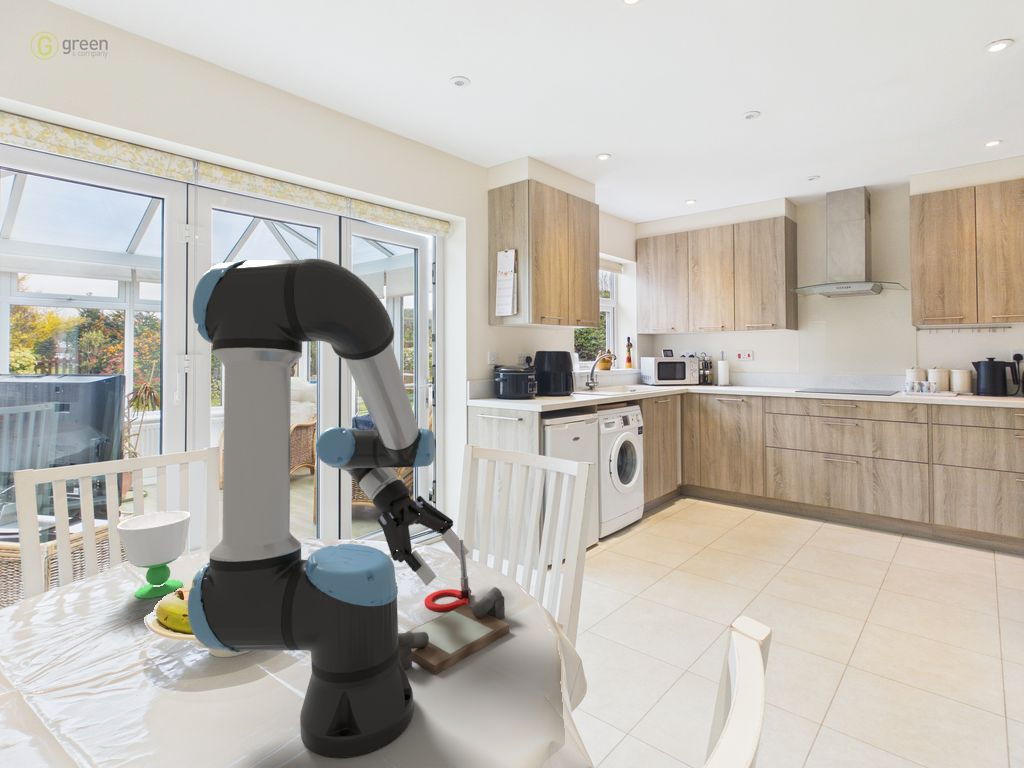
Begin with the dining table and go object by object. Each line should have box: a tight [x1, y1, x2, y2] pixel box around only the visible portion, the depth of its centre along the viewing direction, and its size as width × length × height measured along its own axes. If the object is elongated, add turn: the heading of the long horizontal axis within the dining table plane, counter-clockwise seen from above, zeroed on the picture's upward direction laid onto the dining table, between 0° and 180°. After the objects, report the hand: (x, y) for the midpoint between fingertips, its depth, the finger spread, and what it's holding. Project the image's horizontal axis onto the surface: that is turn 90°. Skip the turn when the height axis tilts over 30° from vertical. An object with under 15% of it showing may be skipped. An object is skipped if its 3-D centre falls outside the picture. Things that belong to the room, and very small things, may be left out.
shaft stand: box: [398, 586, 511, 675], centre depth 95 cm, size 24×12×6 cm, turn 136°
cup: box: [116, 510, 191, 600], centre depth 119 cm, size 14×14×16 cm
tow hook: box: [423, 539, 472, 612], centre depth 110 cm, size 8×13×9 cm
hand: (449, 568), depth 110 cm, fingers open, 13 cm apart
